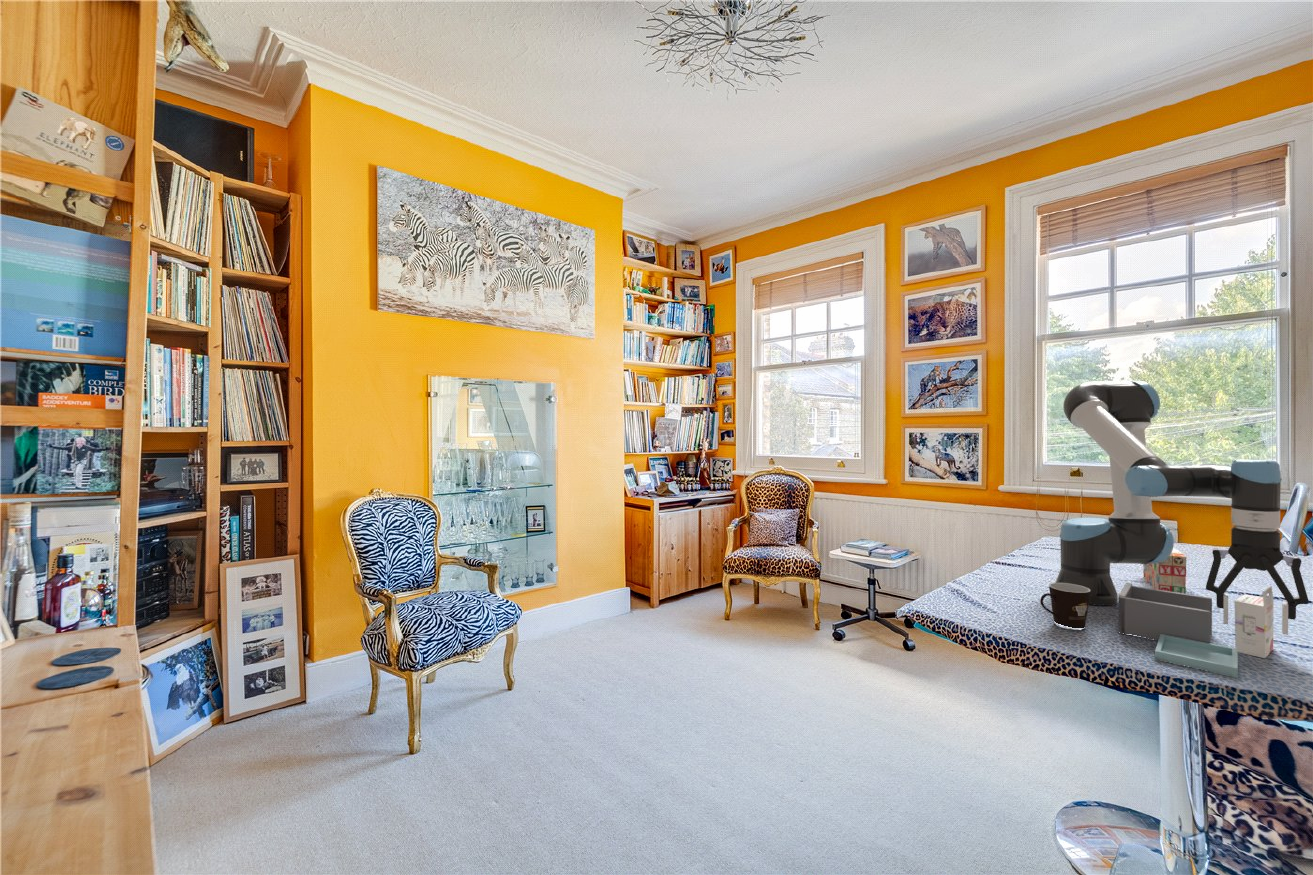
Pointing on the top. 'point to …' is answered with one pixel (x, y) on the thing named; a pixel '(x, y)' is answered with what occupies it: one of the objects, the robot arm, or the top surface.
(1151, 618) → the bay
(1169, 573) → the stack of blocks
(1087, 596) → the coffee mug
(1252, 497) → the robot arm
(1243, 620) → the ink cartridge box
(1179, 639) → the tray
